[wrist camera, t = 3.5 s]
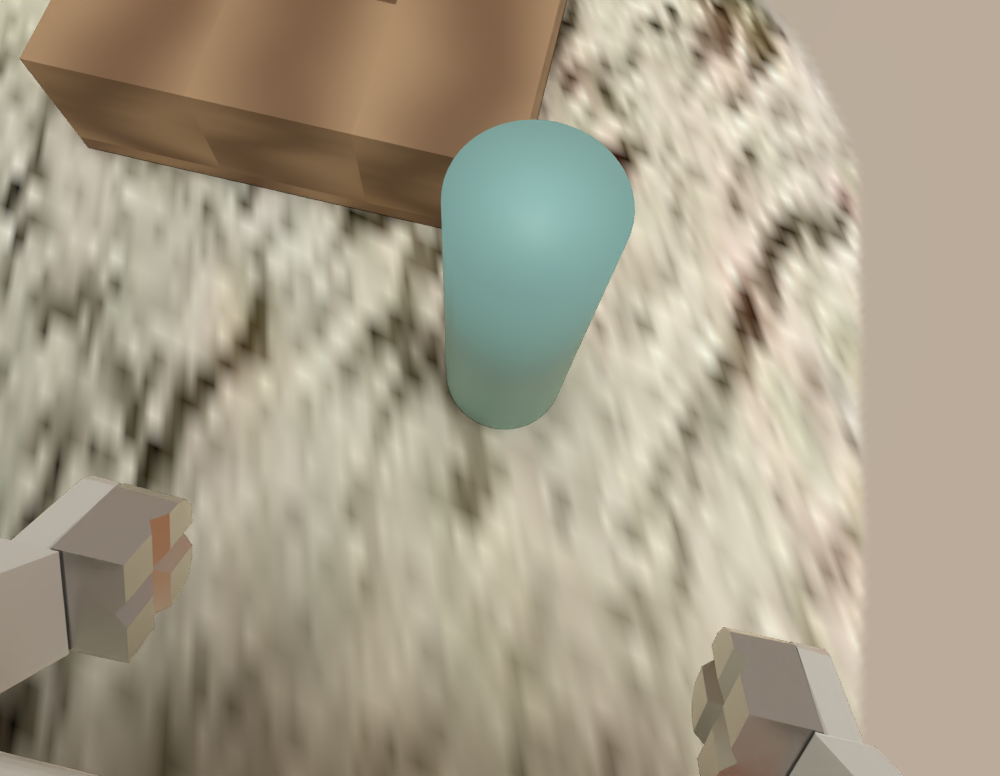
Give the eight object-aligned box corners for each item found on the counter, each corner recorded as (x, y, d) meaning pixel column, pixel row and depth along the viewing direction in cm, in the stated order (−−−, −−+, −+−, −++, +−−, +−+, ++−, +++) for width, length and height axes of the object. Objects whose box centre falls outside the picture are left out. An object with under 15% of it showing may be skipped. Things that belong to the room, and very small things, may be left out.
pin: (433, 414, 25) (419, 264, 14) (461, 309, 26) (466, 101, 16) (548, 440, 25) (617, 309, 14) (570, 334, 26) (648, 143, 16)
